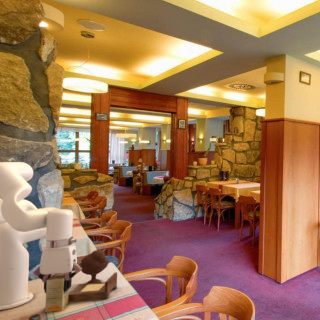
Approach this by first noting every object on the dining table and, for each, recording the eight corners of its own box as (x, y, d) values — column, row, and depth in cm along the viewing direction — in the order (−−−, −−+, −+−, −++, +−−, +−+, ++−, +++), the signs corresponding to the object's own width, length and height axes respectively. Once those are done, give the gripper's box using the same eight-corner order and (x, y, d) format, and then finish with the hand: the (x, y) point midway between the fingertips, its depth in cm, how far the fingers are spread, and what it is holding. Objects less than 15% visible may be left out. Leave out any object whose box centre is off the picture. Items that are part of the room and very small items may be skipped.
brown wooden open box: (66, 302, 112) (66, 284, 112) (79, 290, 121) (79, 274, 121) (107, 299, 115) (107, 281, 115) (116, 288, 125) (117, 272, 125)
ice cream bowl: (105, 276, 136) (106, 245, 136) (110, 283, 129) (111, 250, 129) (76, 282, 129) (77, 249, 129) (80, 291, 121) (81, 256, 121)
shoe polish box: (68, 303, 111) (69, 273, 111) (62, 310, 106) (63, 278, 106) (52, 305, 109) (53, 274, 109) (45, 312, 104) (46, 279, 104)
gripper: (90, 239, 113) (88, 284, 113) (38, 240, 109) (36, 287, 109) (80, 244, 106) (79, 293, 106) (24, 246, 101) (22, 297, 102)
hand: (57, 289), depth 107 cm, fingers closed on shoe polish box, 5 cm apart
